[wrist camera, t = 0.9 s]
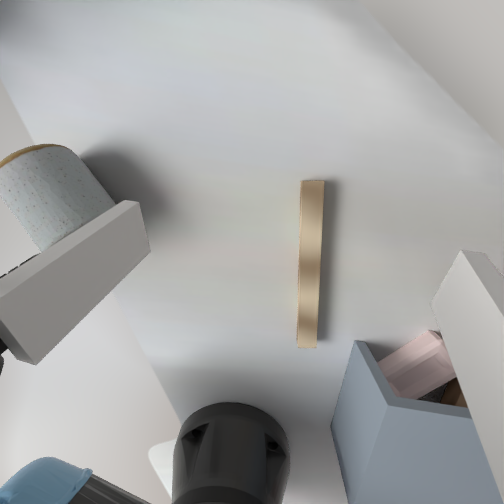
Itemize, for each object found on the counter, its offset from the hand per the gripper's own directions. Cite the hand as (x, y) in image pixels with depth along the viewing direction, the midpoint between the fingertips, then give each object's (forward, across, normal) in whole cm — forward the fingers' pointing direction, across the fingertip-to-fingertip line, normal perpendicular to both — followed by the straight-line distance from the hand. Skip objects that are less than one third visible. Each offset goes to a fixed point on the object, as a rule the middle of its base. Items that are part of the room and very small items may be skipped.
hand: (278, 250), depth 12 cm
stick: (+15, -1, +12) cm, 19 cm away
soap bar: (+14, -15, +22) cm, 30 cm away
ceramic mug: (+12, +23, +7) cm, 27 cm away
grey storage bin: (+12, -15, +26) cm, 32 cm away
